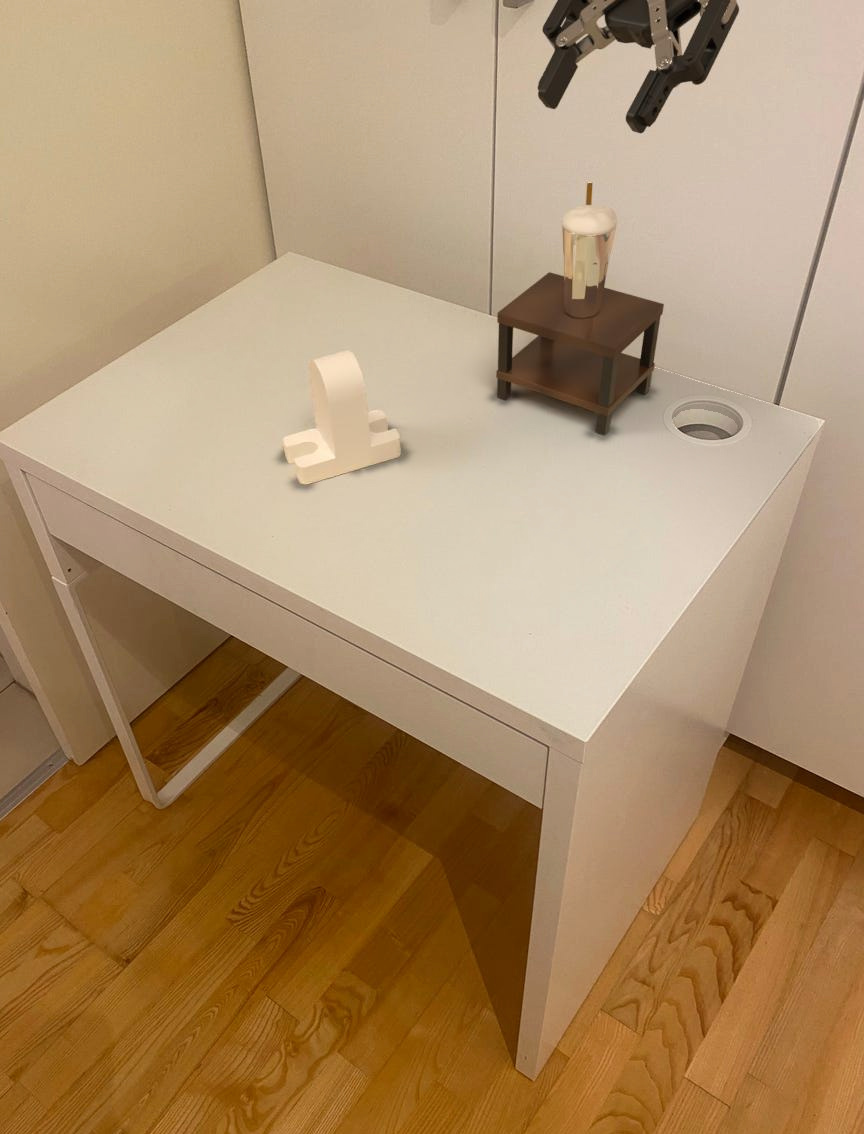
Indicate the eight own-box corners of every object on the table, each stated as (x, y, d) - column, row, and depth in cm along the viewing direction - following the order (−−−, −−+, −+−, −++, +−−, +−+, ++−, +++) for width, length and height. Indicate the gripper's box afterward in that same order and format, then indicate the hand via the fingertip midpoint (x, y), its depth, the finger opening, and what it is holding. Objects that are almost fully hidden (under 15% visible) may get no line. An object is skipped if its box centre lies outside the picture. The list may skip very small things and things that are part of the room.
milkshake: (605, 292, 91) (617, 181, 84) (608, 322, 88) (621, 209, 80) (555, 292, 92) (563, 183, 84) (556, 322, 88) (564, 210, 81)
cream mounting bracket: (403, 455, 91) (397, 358, 84) (301, 485, 89) (286, 389, 82) (381, 426, 94) (374, 330, 87) (283, 454, 92) (267, 359, 85)
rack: (651, 390, 96) (664, 303, 89) (604, 436, 91) (615, 349, 84) (544, 355, 101) (549, 271, 95) (495, 397, 97) (497, 312, 90)
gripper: (603, -143, 74) (496, 69, 77) (773, -127, 66) (647, 107, 70) (638, -73, 80) (538, 121, 83) (798, -51, 72) (681, 161, 76)
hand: (588, 114), depth 76 cm, fingers open, 8 cm apart
